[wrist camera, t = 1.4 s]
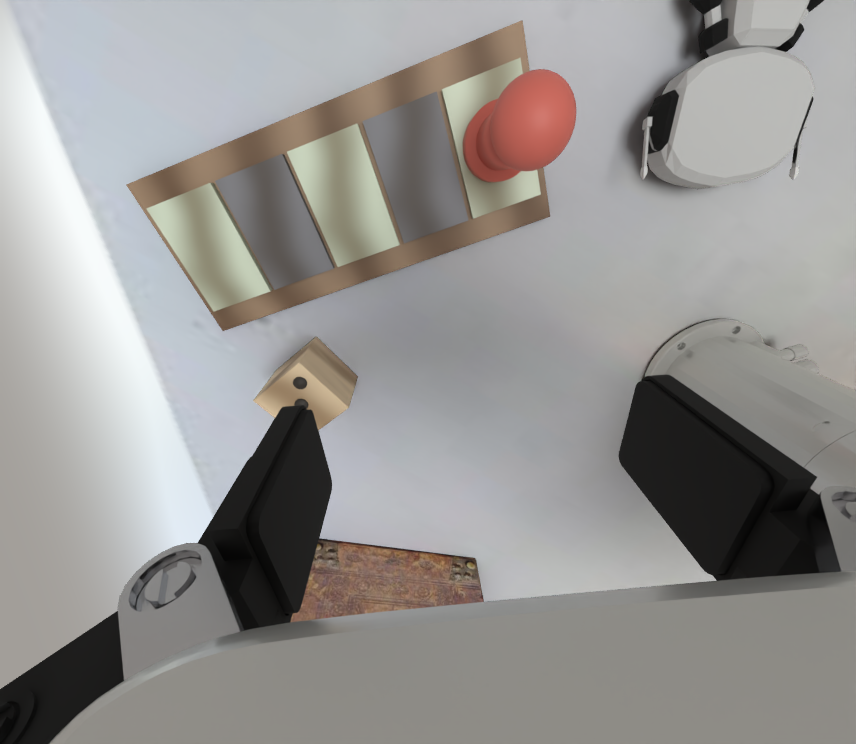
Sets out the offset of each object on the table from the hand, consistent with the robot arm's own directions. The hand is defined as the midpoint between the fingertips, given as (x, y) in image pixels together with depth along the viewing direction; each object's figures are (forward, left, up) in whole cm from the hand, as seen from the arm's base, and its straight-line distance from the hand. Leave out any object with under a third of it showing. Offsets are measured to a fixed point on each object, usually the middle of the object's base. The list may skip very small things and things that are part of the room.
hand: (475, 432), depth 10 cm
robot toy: (-25, -6, -25) cm, 36 cm away
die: (+15, +7, -25) cm, 29 cm away
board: (+5, -7, -25) cm, 26 cm away
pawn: (-8, -7, -23) cm, 26 cm away
